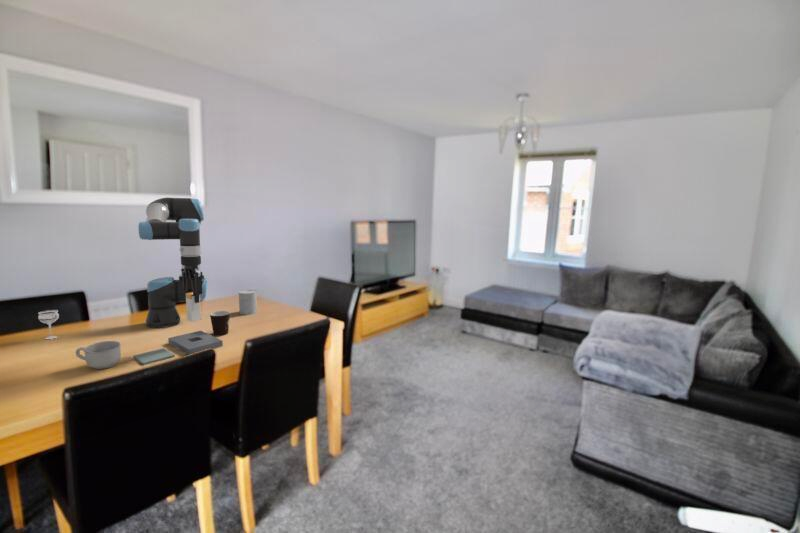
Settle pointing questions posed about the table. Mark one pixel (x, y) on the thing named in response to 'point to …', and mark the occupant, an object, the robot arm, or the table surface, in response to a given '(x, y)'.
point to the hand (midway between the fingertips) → (193, 308)
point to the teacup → (101, 354)
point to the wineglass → (49, 319)
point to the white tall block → (192, 314)
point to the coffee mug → (220, 322)
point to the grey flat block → (194, 342)
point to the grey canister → (247, 302)
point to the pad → (153, 356)
